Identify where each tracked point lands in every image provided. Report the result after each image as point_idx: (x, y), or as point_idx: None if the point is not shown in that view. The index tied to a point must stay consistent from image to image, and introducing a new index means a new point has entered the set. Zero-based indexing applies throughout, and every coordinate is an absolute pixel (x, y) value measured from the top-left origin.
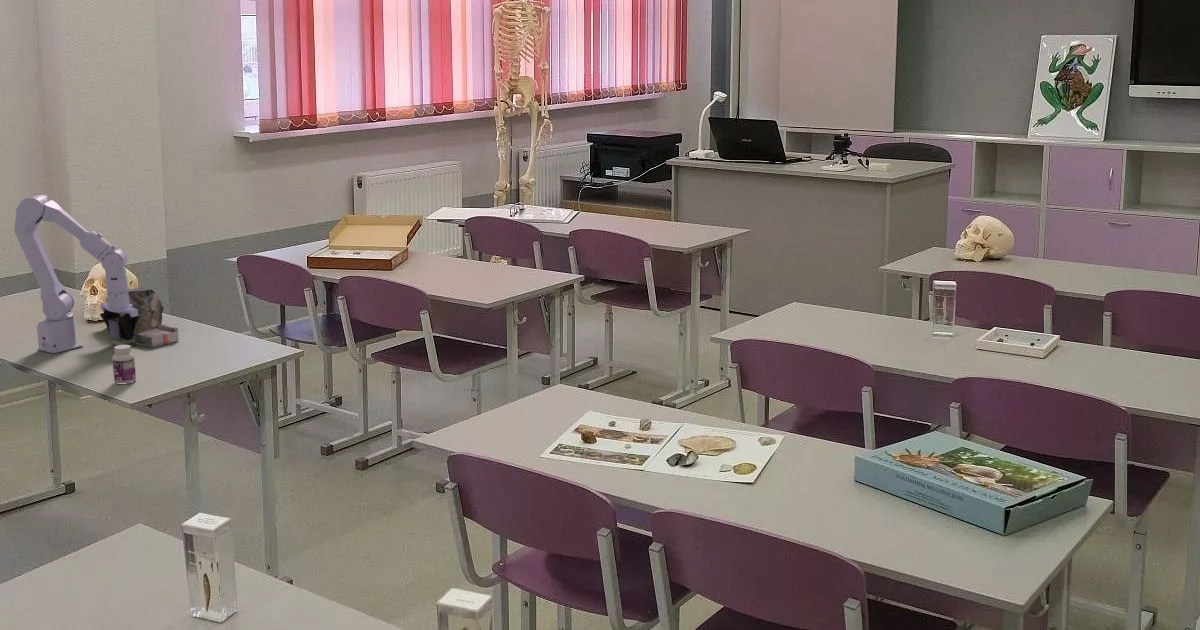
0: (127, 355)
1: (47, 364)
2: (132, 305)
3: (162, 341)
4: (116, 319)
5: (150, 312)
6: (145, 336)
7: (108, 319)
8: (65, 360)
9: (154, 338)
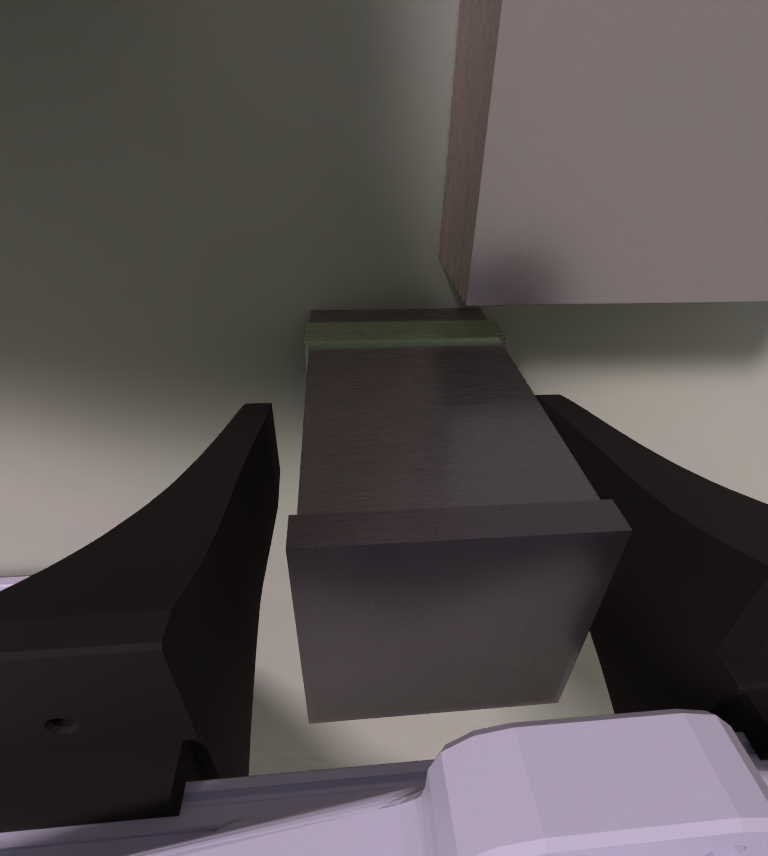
0: None
1: (380, 752)
2: (763, 780)
3: None
4: (420, 672)
5: None
6: (708, 300)
7: (314, 721)
8: None
9: None
